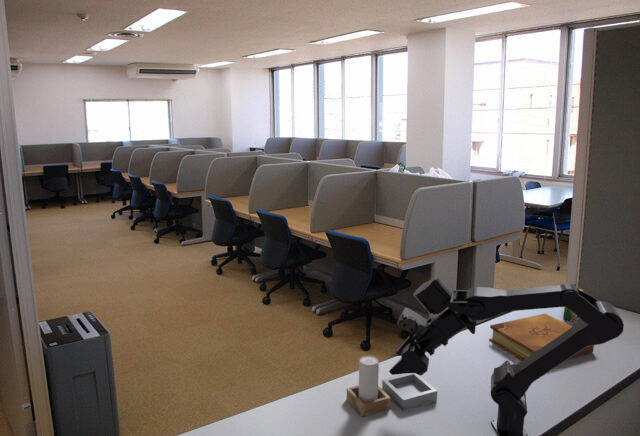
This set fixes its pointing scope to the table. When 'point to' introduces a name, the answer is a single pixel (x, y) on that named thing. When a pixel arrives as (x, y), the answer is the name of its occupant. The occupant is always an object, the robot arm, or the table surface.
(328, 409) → the table surface
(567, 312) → the crayon box
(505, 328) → the diary
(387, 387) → the tray
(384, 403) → the wooden frame
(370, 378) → the beverage can
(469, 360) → the table surface
